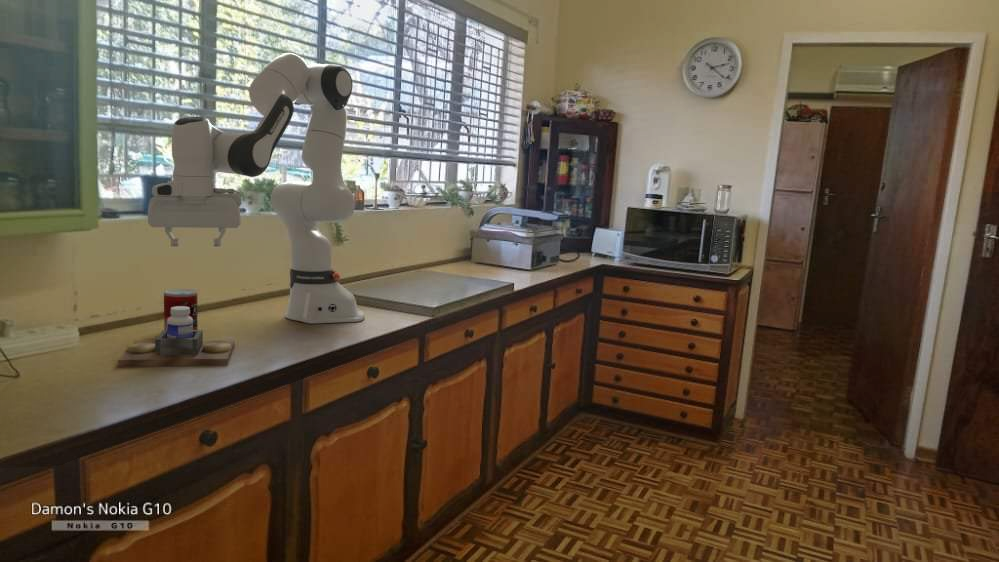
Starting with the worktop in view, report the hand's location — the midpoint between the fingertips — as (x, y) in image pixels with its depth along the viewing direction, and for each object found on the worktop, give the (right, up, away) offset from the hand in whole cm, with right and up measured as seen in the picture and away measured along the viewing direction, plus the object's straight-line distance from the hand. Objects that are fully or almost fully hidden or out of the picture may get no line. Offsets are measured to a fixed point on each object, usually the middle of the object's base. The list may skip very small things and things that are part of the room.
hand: (196, 246), depth 171 cm
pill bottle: (-1, -24, -7) cm, 25 cm away
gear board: (-1, -25, -7) cm, 26 cm away
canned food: (-9, -22, +12) cm, 27 cm away
